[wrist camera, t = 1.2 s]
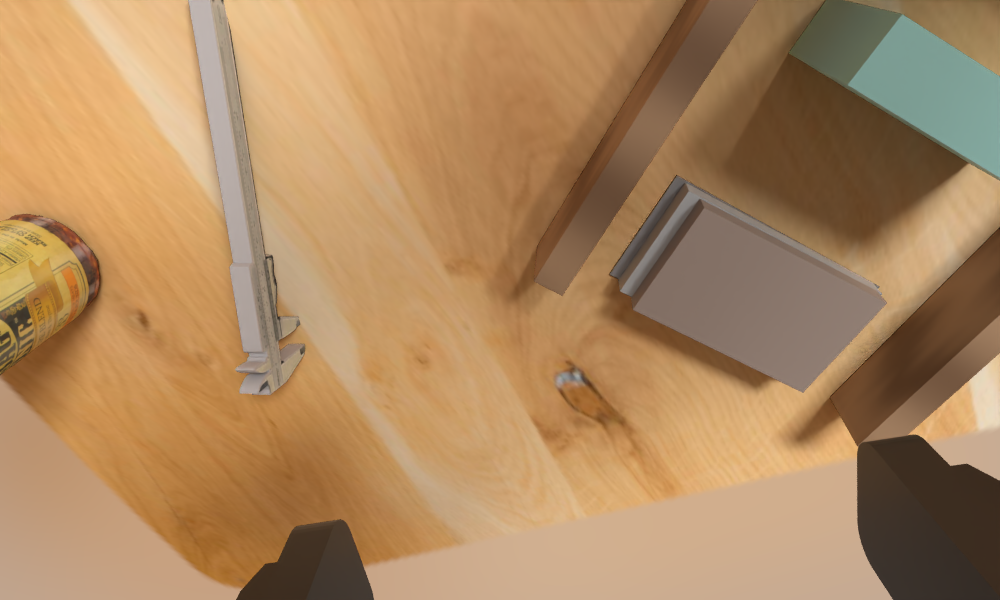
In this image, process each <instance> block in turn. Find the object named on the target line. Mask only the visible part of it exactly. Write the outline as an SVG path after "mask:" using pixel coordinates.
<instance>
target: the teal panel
mask: <svg viewBox="0 0 1000 600" xmlns="http://www.w3.org/2000/svg"><path fill="white" fill-rule="evenodd" d="M789 54H791V55H792V56H794V57H796V58H797V59H799V60H801V61H802V62H804V63H806V64H807V65H809V66H810V67H812V68H814V69H815V70H817V71H819V72H820V73H822V74H824V75H825V76H827V77H828V78H830V79H832V80H833V81H835V82H837V83H838V84H840V85H842V86H843V87H845V88H847V89H848V90H850V91H851V92H853V93H855V94H856V95H858V96H860V97H861V98H863V99H865V100H866V101H868V102H870V103H871V104H873V105H874V106H876V107H878V108H879V109H881V110H883V111H884V112H886V113H888V114H889V115H891V116H892V117H894V118H896V119H897V120H899V121H901V122H902V123H904V124H906V125H907V126H909V127H911V128H912V129H914V130H915V131H917V132H919V133H920V134H922V135H924V136H925V137H927V138H929V139H930V140H932V141H934V142H935V143H937V144H938V145H940V146H942V147H943V148H945V149H947V150H948V151H950V152H952V153H953V154H955V155H956V156H958V157H960V158H961V159H963V160H965V161H966V162H968V163H970V164H971V165H973V166H975V167H977V168H978V169H980V170H982V171H984V172H985V173H987V174H989V175H991V176H992V177H994V178H996V179H998V180H999V181H1000V76H998V75H997V74H995V73H993V72H992V71H990V70H989V69H987V68H986V67H984V66H982V65H981V64H979V63H978V62H976V61H975V60H973V59H972V58H970V57H968V56H967V55H965V54H964V53H962V52H961V51H959V50H958V49H956V48H954V47H953V46H951V45H950V44H948V43H947V42H945V41H943V40H942V39H940V38H939V37H937V36H936V35H934V34H933V33H931V32H929V31H928V30H926V29H925V28H923V27H922V26H920V25H918V24H917V23H915V22H914V21H912V20H911V19H909V18H908V17H906V16H904V15H903V14H899V13H895V12H891V11H887V10H883V9H878V8H874V7H870V6H866V5H862V4H857V3H853V2H849V1H845V0H826V1H825V2H824V4H823V5H822V7H821V8H820V9H819V11H818V12H817V14H816V15H815V16H814V18H813V19H812V21H811V22H810V23H809V25H808V26H807V28H806V29H805V31H804V32H803V33H802V35H801V36H800V38H799V39H798V40H797V42H796V43H795V45H794V46H793V47H792V49H791V50H790V52H789Z"/></svg>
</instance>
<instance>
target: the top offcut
mask: <svg viewBox="0 0 1000 600" xmlns="http://www.w3.org/2000/svg"><path fill="white" fill-rule="evenodd" d="M631 301H632V308H633V310H634V311H636V312H638V313H640V314H642V315H644V316H647V317H649V318H651V319H653V320H655V321H657V322H659V323H661V324H663V325H665V326H667V327H669V328H671V329H673V330H675V331H677V332H679V333H681V334H683V335H686V336H688V337H690V338H692V339H694V340H696V341H698V342H700V343H702V344H704V345H706V346H708V347H710V348H712V349H714V350H716V351H718V352H720V353H723V354H725V355H727V356H729V357H731V358H733V359H735V360H737V361H739V362H741V363H743V364H745V365H747V366H749V367H751V368H753V369H755V370H757V371H759V372H762V373H764V374H766V375H768V376H770V377H772V378H774V379H776V380H778V381H780V382H782V383H784V384H786V385H788V386H790V387H792V388H794V389H796V390H799V391H801V392H804V391H805V390H806V389H807V388H808V387H809V386H810V385H811V384H812V382H813V381H814V380H815V379H816V378H817V377H818V376H819V375H820V374H821V373H822V372H823V371H824V370H825V369H826V368H827V367H828V365H829V364H830V363H831V362H832V361H833V360H834V359H835V358H836V357H837V356H838V355H839V354H840V353H841V352H842V351H843V349H844V348H845V347H846V346H847V345H848V344H849V343H850V342H851V341H852V340H853V339H854V338H855V337H856V336H857V335H858V333H859V332H860V331H861V330H862V329H863V328H864V327H865V326H866V325H867V324H868V323H869V322H870V321H871V320H872V319H873V318H874V316H875V315H876V314H877V313H878V312H879V311H880V310H881V309H882V308H883V307H884V306H885V305H886V304H887V302H886V301H885V300H884V299H883V298H882V296H881V295H880V294H879V293H878V292H877V291H876V290H874V289H872V288H871V287H869V286H867V285H865V284H863V283H861V282H859V281H857V280H855V279H853V278H851V277H849V276H848V275H846V274H844V273H842V272H840V271H838V270H836V269H834V268H832V267H830V266H828V265H826V264H825V263H823V262H821V261H819V260H817V259H815V258H813V257H811V256H809V255H807V254H805V253H803V252H802V251H800V250H798V249H796V248H794V247H792V246H790V245H788V244H786V243H784V242H782V241H780V240H779V239H777V238H775V237H773V236H771V235H769V234H767V233H765V232H763V231H761V230H759V229H758V228H756V227H754V226H752V225H750V224H748V223H746V222H744V221H742V220H740V219H738V218H736V217H735V216H733V215H731V214H729V213H727V212H725V211H723V210H721V209H719V208H717V207H715V206H713V205H712V204H710V203H708V202H706V201H704V200H702V199H699V200H698V202H697V203H696V205H695V206H694V208H693V209H692V211H691V212H690V213H689V215H688V216H687V218H686V219H685V221H684V222H683V224H682V225H681V227H680V228H679V229H678V231H677V232H676V234H675V235H674V237H673V238H672V240H671V241H670V242H669V244H668V245H667V247H666V248H665V250H664V251H663V253H662V254H661V255H660V257H659V258H658V260H657V261H656V263H655V264H654V266H653V267H652V268H651V270H650V271H649V273H648V274H647V276H646V277H645V279H644V280H643V281H642V283H641V284H640V286H639V287H638V289H637V290H636V292H635V293H634V294H633V296H632V297H631Z"/></svg>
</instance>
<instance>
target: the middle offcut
mask: <svg viewBox="0 0 1000 600" xmlns="http://www.w3.org/2000/svg"><path fill="white" fill-rule="evenodd" d="M699 199H702V200H704V201H706V202H708V203H710V204H712V205H713V206H715V207H717V208H719V209H721V210H723V211H725V212H727V213H729V214H731V215H733V216H735V217H736V218H738V219H740V220H742V221H744V222H746V223H748V224H750V225H752V226H754V227H756V228H758V229H759V230H761V231H763V232H765V233H767V234H769V235H771V236H773V237H775V238H777V239H779V240H780V241H782V242H784V243H786V244H788V245H790V246H792V247H794V248H796V249H798V250H800V251H802V252H803V253H805V254H807V255H809V256H811V257H813V258H815V259H817V260H819V261H821V262H823V263H825V264H826V265H828V266H830V267H832V268H834V269H836V270H838V271H840V272H842V273H844V274H846V275H848V276H849V277H851V278H853V279H855V280H857V281H859V282H861V283H863V284H865V285H867V286H869V287H871V288H872V289H874V290H876V291H877V292H878V293H879V294H880V295H882V293H881V292H880V291H879V290H878V288H877V287H876V286H875V285H874V284H873V283H872V282H871V281H869V280H867V279H865V278H863V277H861V276H859V275H858V274H856V273H854V272H852V271H850V270H848V269H846V268H844V267H843V266H841V265H839V264H837V263H835V262H833V261H831V260H829V259H828V258H826V257H824V256H822V255H820V254H818V253H816V252H814V251H813V250H811V249H809V248H807V247H805V246H803V245H801V244H800V243H798V242H796V241H794V240H792V239H790V238H788V237H786V236H785V235H783V234H781V233H779V232H777V231H775V230H773V229H771V228H770V227H768V226H766V225H764V224H762V223H760V222H758V221H757V220H755V219H753V218H751V217H749V216H747V215H745V214H743V213H742V212H740V211H738V210H736V209H734V208H732V207H730V206H728V205H727V204H725V203H723V202H721V201H719V200H717V199H715V198H714V197H712V196H710V195H708V194H706V193H704V192H702V191H700V190H699V189H697V188H695V187H693V186H691V185H689V184H687V183H684V185H683V186H682V188H681V189H680V190H679V192H678V193H677V195H676V196H675V198H674V199H673V201H672V202H671V204H670V205H669V207H668V208H667V210H666V211H665V212H664V214H663V215H662V217H661V218H660V220H659V221H658V223H657V224H656V226H655V227H654V229H653V230H652V232H651V233H650V235H649V236H648V237H647V239H646V240H645V242H644V243H643V245H642V246H641V248H640V249H639V251H638V252H637V254H636V255H635V257H634V258H633V259H632V261H631V262H630V264H629V265H628V267H627V268H626V270H625V271H624V273H623V274H622V276H621V277H620V279H619V280H618V281H619V288H620V292H622V293H624V294H626V295H629V296H631V297H632V296H633V294H634V293H635V292H636V290H637V289H638V287H639V286H640V284H641V283H642V281H643V280H644V279H645V277H646V276H647V274H648V273H649V271H650V270H651V268H652V267H653V266H654V264H655V263H656V261H657V260H658V258H659V257H660V255H661V254H662V253H663V251H664V250H665V248H666V247H667V245H668V244H669V242H670V241H671V240H672V238H673V237H674V235H675V234H676V232H677V231H678V229H679V228H680V227H681V225H682V224H683V222H684V221H685V219H686V218H687V216H688V215H689V213H690V212H691V211H692V209H693V208H694V206H695V205H696V203H697V202H698V200H699Z"/></svg>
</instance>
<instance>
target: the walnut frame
mask: <svg viewBox="0 0 1000 600" xmlns="http://www.w3.org/2000/svg"><path fill="white" fill-rule="evenodd" d="M756 2H757V0H687V1H686V3H685V4H684V6H683V8H682V9H681V11H680V13H679V14H678V16H677V17H676V19H675V21H674V22H673V24H672V26H671V27H670V29H669V31H668V32H667V34H666V36H665V37H664V39H663V40H662V42H661V44H660V45H659V47H658V49H657V50H656V52H655V54H654V55H653V57H652V59H651V60H650V62H649V63H648V65H647V67H646V68H645V70H644V72H643V73H642V75H641V77H640V78H639V80H638V82H637V83H636V85H635V86H634V88H633V90H632V91H631V93H630V95H629V96H628V98H627V100H626V101H625V103H624V104H623V106H622V108H621V109H620V111H619V113H618V114H617V116H616V118H615V119H614V121H613V123H612V124H611V126H610V127H609V129H608V131H607V132H606V134H605V136H604V137H603V139H602V141H601V142H600V144H599V146H598V147H597V149H596V150H595V152H594V154H593V155H592V157H591V159H590V160H589V162H588V164H587V165H586V167H585V169H584V170H583V172H582V173H581V175H580V177H579V178H578V180H577V182H576V183H575V185H574V187H573V188H572V190H571V192H570V193H569V195H568V196H567V198H566V200H565V201H564V203H563V205H562V206H561V208H560V210H559V211H558V213H557V214H556V216H555V218H554V219H553V221H552V223H551V224H550V226H549V228H548V229H547V231H546V233H545V234H544V236H543V237H542V239H541V241H540V242H539V244H538V246H537V255H536V265H535V275H534V282H536V283H538V284H540V285H542V286H544V287H546V288H548V289H550V290H552V291H554V292H555V293H557V294H559V295H561V296H563V294H564V293H565V291H566V290H567V288H568V287H569V285H570V284H571V282H572V280H573V279H574V277H575V276H576V274H577V273H578V271H579V270H580V268H581V267H582V265H583V264H584V262H585V261H586V259H587V258H588V256H589V255H590V253H591V252H592V250H593V249H594V247H595V246H596V244H597V243H598V241H599V240H600V238H601V237H602V235H603V234H604V232H605V231H606V229H607V227H608V226H609V224H610V223H611V221H612V220H613V218H614V217H615V215H616V214H617V212H618V211H619V209H620V208H621V206H622V205H623V203H624V202H625V200H626V199H627V197H628V196H629V194H630V193H631V191H632V190H633V188H634V187H635V185H636V184H637V182H638V181H639V179H640V178H641V176H642V175H643V173H644V171H645V170H646V168H647V167H648V165H649V164H650V162H651V161H652V159H653V158H654V156H655V155H656V153H657V152H658V150H659V149H660V147H661V146H662V144H663V143H664V141H665V140H666V138H667V137H668V135H669V134H670V132H671V131H672V129H673V128H674V126H675V125H676V123H677V122H678V120H679V118H680V117H681V115H682V114H683V112H684V111H685V109H686V108H687V106H688V105H689V103H690V102H691V100H692V99H693V97H694V96H695V94H696V93H697V91H698V90H699V88H700V87H701V85H702V84H703V82H704V81H705V79H706V78H707V76H708V75H709V73H710V72H711V70H712V69H713V67H714V65H715V64H716V62H717V61H718V59H719V58H720V56H721V55H722V53H723V52H724V50H725V49H726V47H727V46H728V44H729V43H730V41H731V40H732V38H733V37H734V35H735V34H736V32H737V31H738V29H739V28H740V26H741V25H742V23H743V22H744V20H745V19H746V17H747V16H748V14H749V13H750V11H751V9H752V8H753V6H754V5H755V3H756ZM999 353H1000V228H999V229H998V230H997V231H996V232H995V233H994V234H993V235H992V236H991V237H990V238H989V239H988V240H987V241H986V242H985V243H984V244H983V245H982V246H981V247H980V248H979V249H978V250H977V251H976V252H975V253H974V254H973V255H972V256H971V257H970V258H969V259H968V260H967V261H966V262H965V263H964V264H963V265H962V266H961V267H960V268H959V269H958V270H957V271H956V272H955V273H954V274H953V275H952V276H951V277H950V278H949V279H948V280H947V281H946V282H945V283H944V284H943V285H942V286H941V287H940V288H939V289H938V290H937V291H936V292H935V293H934V294H933V295H932V296H931V297H930V298H929V299H928V300H927V301H926V302H925V303H924V304H923V305H922V306H921V307H920V308H919V309H918V310H917V311H916V312H915V313H914V314H913V315H912V316H911V317H910V318H909V319H908V320H907V321H906V322H905V323H904V324H903V325H902V326H901V327H900V328H899V329H898V330H897V331H896V332H895V333H894V334H893V335H892V336H891V337H890V338H889V339H888V340H887V341H886V342H885V343H884V344H883V345H882V346H881V347H880V348H879V349H878V350H877V351H876V352H875V353H874V354H873V355H872V356H871V357H870V358H869V359H868V360H867V361H866V362H865V363H864V364H863V365H862V366H861V367H860V368H859V369H858V370H857V371H856V372H855V373H854V374H853V375H852V376H851V377H850V378H849V379H848V380H847V381H846V382H845V383H844V384H843V385H842V386H841V387H840V388H839V389H838V390H837V391H836V392H835V393H834V394H833V395H832V396H831V397H830V399H831V400H832V402H833V404H834V406H835V408H836V409H837V411H838V413H839V415H840V416H841V418H842V420H843V422H844V423H845V425H846V427H847V429H848V430H849V432H850V434H851V436H852V438H853V439H854V441H855V443H856V445H857V446H858V447H859V445H860V444H861V443H862V442H868V441H874V440H881V439H888V438H894V437H901V436H907V435H908V434H909V433H910V432H911V431H912V430H914V429H915V428H916V427H917V426H918V425H919V424H920V423H921V422H923V421H924V420H925V419H926V418H927V417H928V416H929V415H930V414H932V413H933V412H934V411H935V410H936V409H937V408H938V407H940V406H941V405H942V404H943V403H944V402H945V401H946V400H947V399H949V398H950V397H951V396H952V395H953V394H954V393H955V392H956V391H958V390H959V389H960V388H961V387H962V386H963V385H964V384H965V383H967V382H968V381H969V380H970V379H971V378H972V377H973V376H974V375H976V374H977V373H978V372H979V371H980V370H981V369H982V368H983V367H985V366H986V365H987V364H988V363H989V362H990V361H991V360H992V359H994V358H995V357H996V356H997V355H998V354H999Z"/></svg>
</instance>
